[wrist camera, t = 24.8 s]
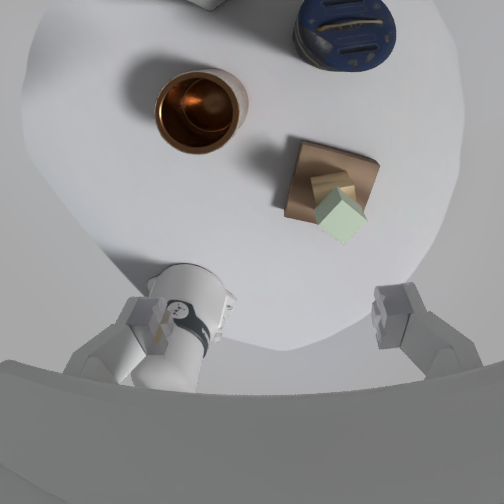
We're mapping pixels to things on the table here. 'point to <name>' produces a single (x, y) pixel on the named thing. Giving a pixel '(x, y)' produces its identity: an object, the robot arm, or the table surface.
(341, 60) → the canister
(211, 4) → the skincare box
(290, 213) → the base plate
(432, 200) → the table surface
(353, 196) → the oak cube
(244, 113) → the planter
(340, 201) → the green cube
